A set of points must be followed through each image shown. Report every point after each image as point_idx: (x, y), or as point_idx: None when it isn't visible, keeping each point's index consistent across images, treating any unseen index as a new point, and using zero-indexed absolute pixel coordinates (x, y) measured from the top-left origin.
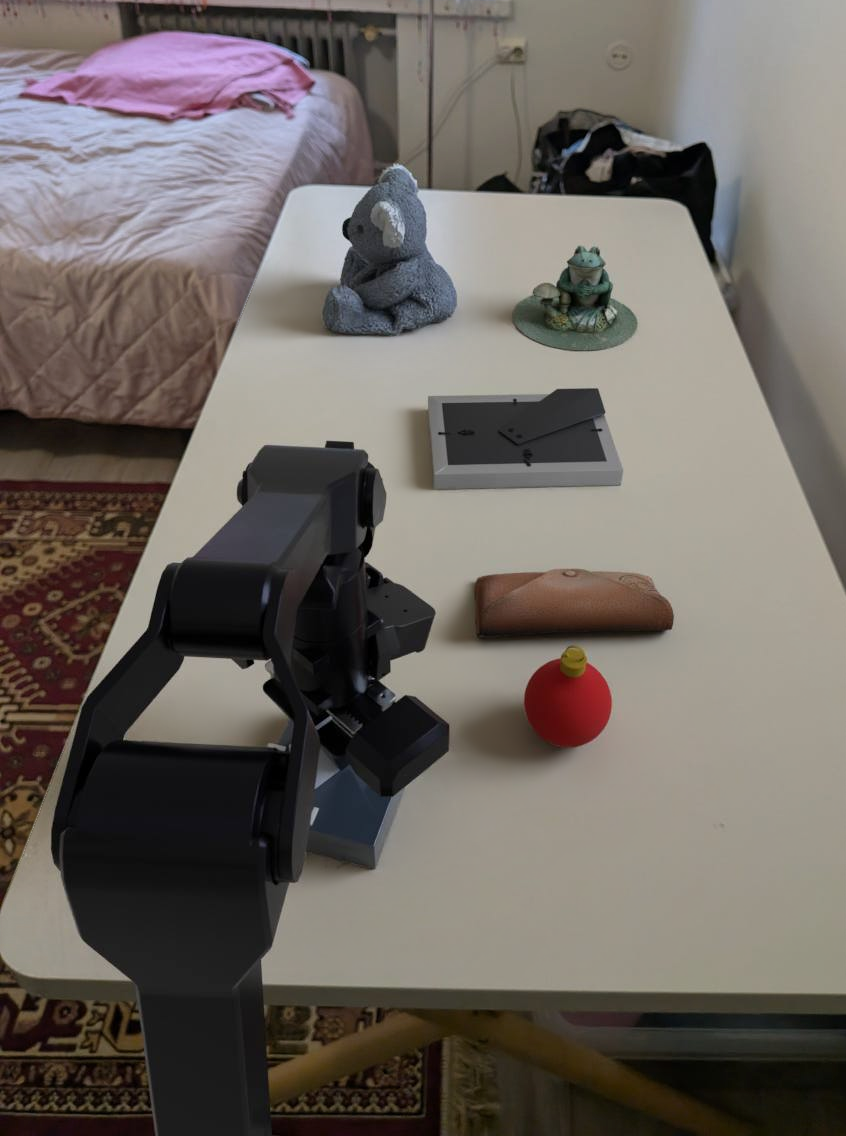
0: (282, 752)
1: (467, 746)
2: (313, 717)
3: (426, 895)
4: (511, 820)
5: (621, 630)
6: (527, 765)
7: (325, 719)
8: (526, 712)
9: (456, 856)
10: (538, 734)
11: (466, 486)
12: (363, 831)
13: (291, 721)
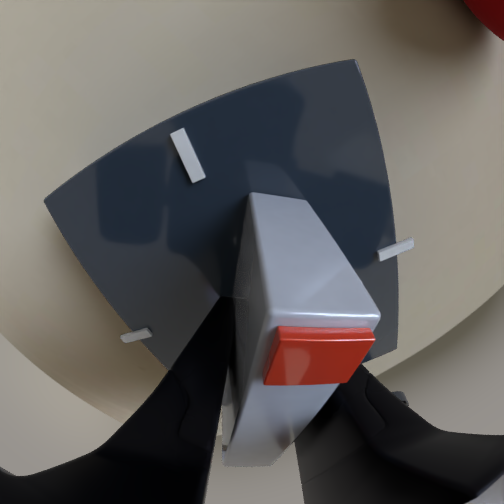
0: (152, 336)
1: (399, 52)
2: (212, 456)
3: (432, 292)
4: (487, 157)
5: None
6: (473, 62)
7: (236, 433)
8: (498, 10)
9: (452, 238)
10: (500, 35)
11: None
12: (376, 347)
13: (96, 280)
